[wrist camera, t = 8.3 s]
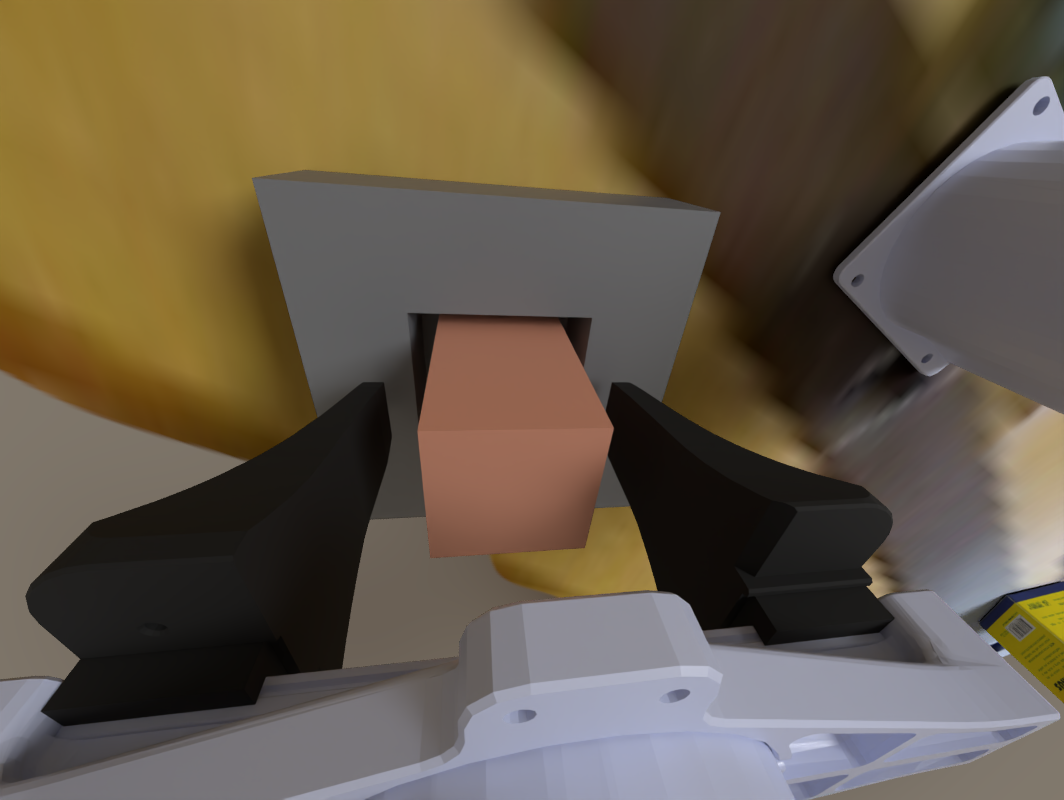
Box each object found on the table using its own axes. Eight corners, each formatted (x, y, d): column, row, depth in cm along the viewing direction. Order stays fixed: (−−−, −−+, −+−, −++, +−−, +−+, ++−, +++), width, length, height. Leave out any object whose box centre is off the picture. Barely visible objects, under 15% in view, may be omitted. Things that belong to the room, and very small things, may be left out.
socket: (668, 198, 14) (720, 212, 11) (606, 454, 20) (629, 506, 17) (305, 170, 12) (251, 178, 9) (365, 461, 18) (346, 520, 16)
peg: (549, 301, 15) (613, 428, 8) (540, 390, 17) (584, 547, 10) (442, 297, 14) (417, 431, 8) (446, 390, 16) (430, 558, 10)
